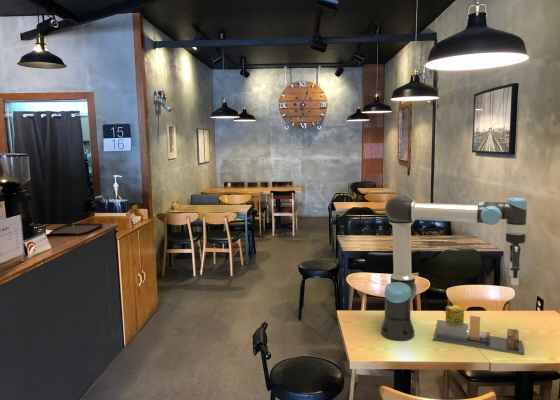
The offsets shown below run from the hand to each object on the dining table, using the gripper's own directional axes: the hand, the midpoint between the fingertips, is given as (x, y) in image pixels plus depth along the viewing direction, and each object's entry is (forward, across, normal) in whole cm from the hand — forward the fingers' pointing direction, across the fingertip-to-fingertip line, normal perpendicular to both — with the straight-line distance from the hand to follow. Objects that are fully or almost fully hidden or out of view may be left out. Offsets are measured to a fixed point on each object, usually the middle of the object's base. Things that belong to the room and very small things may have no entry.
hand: (513, 280), depth 186 cm
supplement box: (+28, +2, +24) cm, 37 cm away
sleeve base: (+28, -8, +14) cm, 32 cm away
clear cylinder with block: (+26, -8, +19) cm, 33 cm away
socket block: (+26, -8, 0) cm, 27 cm away
